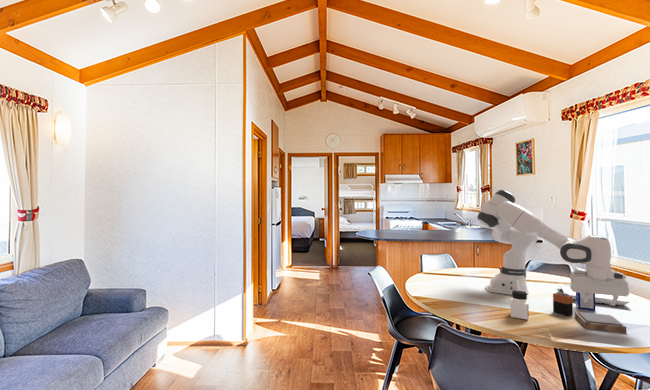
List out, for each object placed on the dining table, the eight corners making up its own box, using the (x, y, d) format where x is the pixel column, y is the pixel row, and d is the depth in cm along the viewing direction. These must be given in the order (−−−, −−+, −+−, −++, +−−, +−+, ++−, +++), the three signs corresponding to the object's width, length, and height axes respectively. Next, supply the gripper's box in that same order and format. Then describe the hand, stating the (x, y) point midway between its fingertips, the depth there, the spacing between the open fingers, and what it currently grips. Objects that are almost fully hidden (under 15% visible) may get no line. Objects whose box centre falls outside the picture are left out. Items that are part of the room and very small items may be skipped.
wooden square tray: (585, 328, 143) (585, 321, 143) (574, 317, 156) (574, 310, 156) (626, 333, 138) (626, 325, 138) (612, 321, 151) (612, 314, 151)
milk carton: (575, 305, 174) (575, 266, 174) (591, 306, 171) (591, 267, 171) (578, 309, 168) (578, 269, 168) (595, 311, 164) (594, 270, 165)
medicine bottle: (528, 320, 153) (528, 293, 153) (510, 317, 157) (510, 291, 157) (528, 315, 159) (528, 290, 159) (511, 312, 163) (511, 288, 163)
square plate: (565, 300, 182) (565, 293, 182) (557, 288, 206) (557, 282, 206) (630, 308, 169) (630, 300, 169) (614, 294, 194) (614, 287, 194)
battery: (567, 316, 157) (566, 295, 157) (552, 311, 164) (552, 291, 164) (573, 315, 159) (572, 294, 159) (558, 310, 165) (558, 290, 165)
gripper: (572, 272, 148) (572, 303, 148) (630, 276, 140) (631, 308, 140) (567, 269, 154) (568, 299, 154) (624, 272, 146) (624, 304, 146)
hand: (598, 303), depth 147 cm, fingers open, 8 cm apart
